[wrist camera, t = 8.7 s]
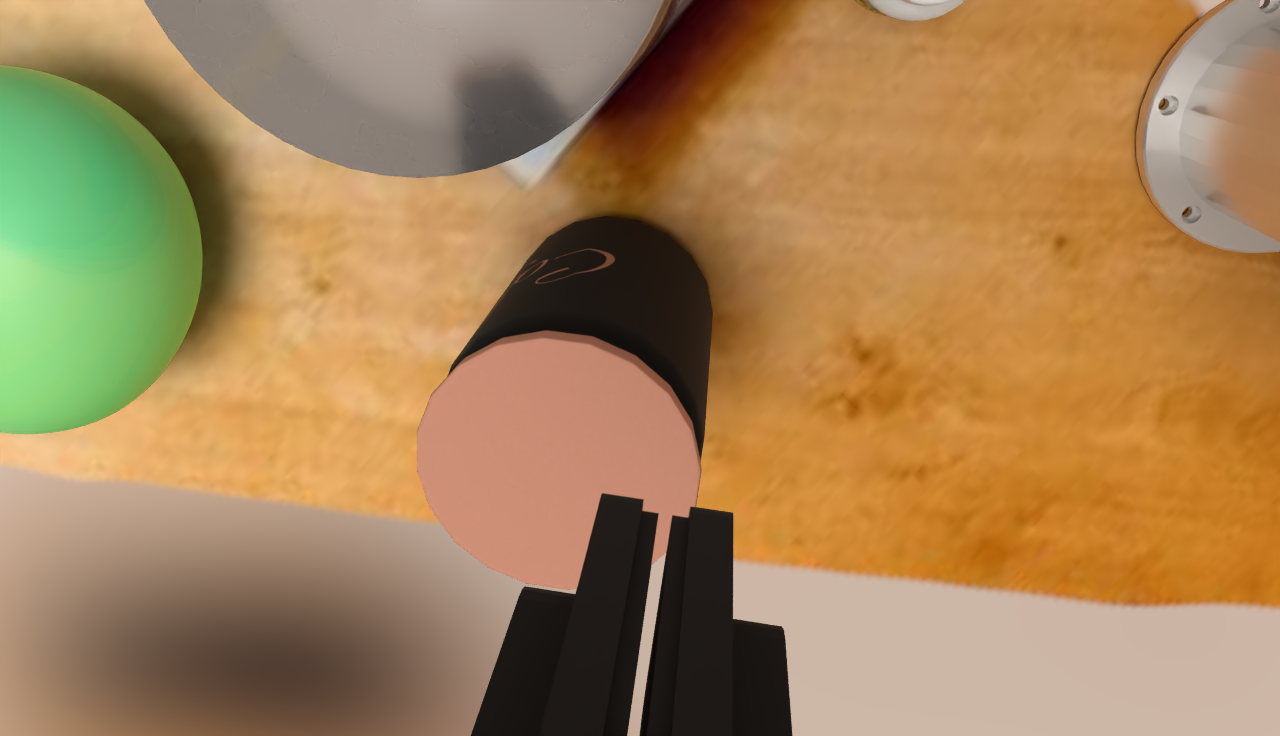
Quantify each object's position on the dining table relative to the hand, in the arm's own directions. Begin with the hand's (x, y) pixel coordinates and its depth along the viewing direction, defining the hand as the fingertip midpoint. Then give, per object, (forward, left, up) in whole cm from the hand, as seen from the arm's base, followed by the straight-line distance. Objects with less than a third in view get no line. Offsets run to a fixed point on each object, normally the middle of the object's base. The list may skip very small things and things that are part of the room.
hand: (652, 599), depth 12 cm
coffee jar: (+4, +10, -37) cm, 39 cm away
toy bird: (+33, +9, -37) cm, 51 cm away
